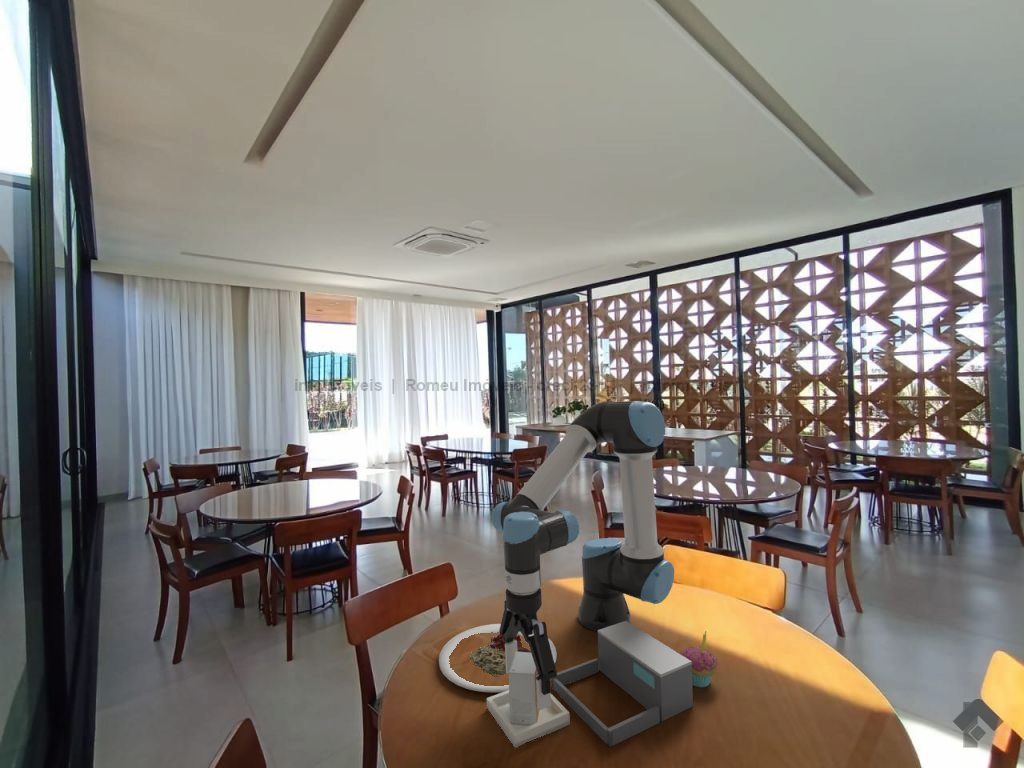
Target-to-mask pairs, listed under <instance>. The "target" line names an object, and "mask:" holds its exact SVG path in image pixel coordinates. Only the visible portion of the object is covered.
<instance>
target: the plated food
mask: <svg viewBox="0 0 1024 768" xmlns="http://www.w3.org/2000/svg"><path fill="white" fill-rule="evenodd" d="M500 626H501V623H490V624H483V625H480V626H476V627H473V628H469V629H467V630H464V631H462V632H460V633H458V634H456V635H455V636H453V637H452V638H450V640H448V641H447V642H446V643H445V645H444V646H442V648H441V651H440V653H439V655H438V656H439V657H438V665H439V669H440V671H441V673H442V675H443V676H444V677H445V678H446V679H447V680H448V681H449V682H452V683H453V684H455V685H456V686H458V687H461V688H464V689H467V690H469V691H474V692H480V693H491V694H492V693H502V692H505V691H508V690H509V685H504V686H484V685H479V684H474V683H472V682H469V681H466V680H465V679H463V678H461V677H459V676H458V675H457V674H456V673H455V672H454V670H452V668H450V664H449V663H450V662H449V660H450V659H449V656H450V655H451V653H452V652H453V650H454V649H455V648H456V646H457V644H459V642H460V641H461V640H462V639H464V638H468V637H469V636H471V635H474V634H478V633H479V634H480V633H491V632H493V633H497V632H499V630H500ZM520 635H521V636H523V635H522V633H521V632H518V636H517V638H516V639H513V641H514V640H516V641H517V652H528V653H531V651H530V650H528V649H527V648H525V647H522V645H523V644H522V643H521V642H520V641H521V639H520ZM533 635H534V634H532V635H529V636H533ZM493 637H494V636H492V637H491V642H492V643H491V644H490V646H489V645H486V646H487V647H485V646H484V647H480V648H477V649H478V651H476V653H475V654H472V652H471V653H470V654H471V655H470V657H469V658H470V659H471V658H472V659H473V662H474V664H473V665H475V666H479V667H481V668H482V669H481V671H482V670H483V673H486V672H487V673H489V674H491V675H492V676H494V677H499V676H500V675H504V674H507V673H506V660H505V642H504V640H503V635H500V634H498V635H497V636H496V637H494V638H493ZM548 640H549V644H550V648H551V652H552V656H553V660H554V664H555V665H556V662H557V657H558V655H557V649H556V646H555V644H554V643H553V641H552V640H551V639H550V638H549V637H548ZM470 662H471V660H470Z"/></svg>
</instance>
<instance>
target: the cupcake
mask: <svg viewBox="0 0 1024 768" xmlns="http://www.w3.org/2000/svg"><path fill="white" fill-rule="evenodd" d="M706 640H707V630H705V632H704V633H703V634H702V641H701V647H696V646H695V647H693V646H690V647H686V648H683V649H682V651H680V652H678V653H679V654H680V655H682V656H684V657H685V658H687V659H688V660H690V661H692V686H694V687H696V688H697V687H698V688H706V687H708V686H709V685H710V683H711V680H712V676H714V675H715V674H716V672H717V671H718V659H717V658H716V657H715V655H713V654H712V653H711V652H709V651H708V650H707V649H705V648H706V642H707V641H706Z"/></svg>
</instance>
